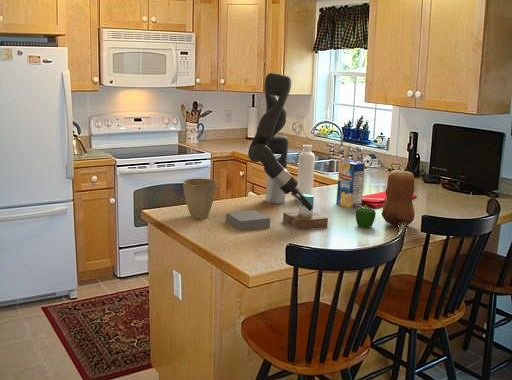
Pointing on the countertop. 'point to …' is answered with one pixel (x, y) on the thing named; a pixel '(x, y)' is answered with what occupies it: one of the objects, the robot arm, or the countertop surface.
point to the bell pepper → (365, 217)
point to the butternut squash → (399, 198)
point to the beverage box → (350, 183)
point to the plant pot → (199, 196)
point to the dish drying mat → (376, 200)
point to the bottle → (306, 170)
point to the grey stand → (247, 220)
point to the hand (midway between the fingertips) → (309, 207)
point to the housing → (302, 209)
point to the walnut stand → (305, 220)
